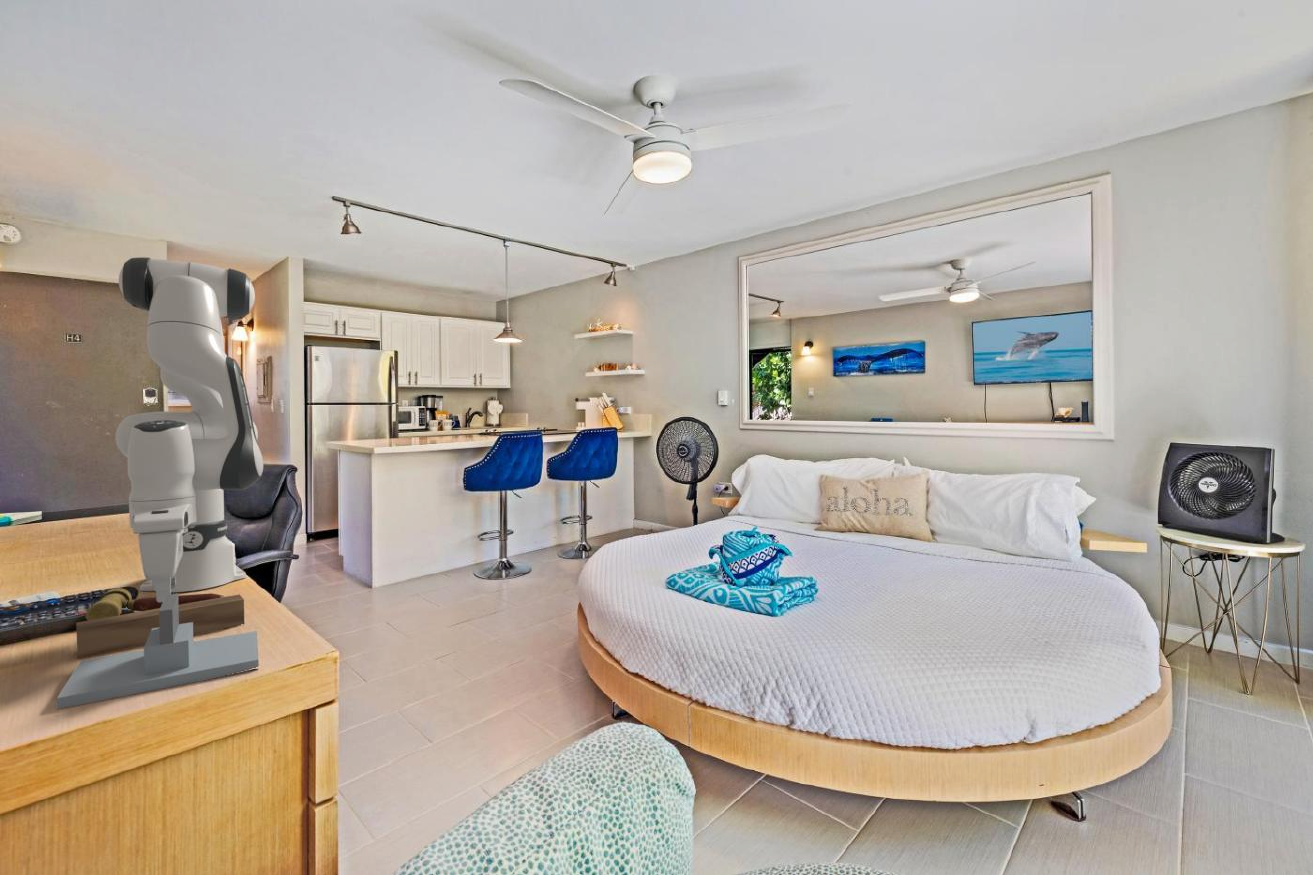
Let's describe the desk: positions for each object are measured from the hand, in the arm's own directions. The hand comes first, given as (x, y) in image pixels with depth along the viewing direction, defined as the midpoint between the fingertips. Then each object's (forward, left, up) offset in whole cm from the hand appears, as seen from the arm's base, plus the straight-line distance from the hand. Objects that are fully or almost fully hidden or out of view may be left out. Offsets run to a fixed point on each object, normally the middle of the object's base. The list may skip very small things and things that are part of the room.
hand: (166, 594), depth 101 cm
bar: (-1, 0, -8) cm, 8 cm away
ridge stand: (+16, +2, -8) cm, 18 cm away
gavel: (-19, -2, -8) cm, 21 cm away
